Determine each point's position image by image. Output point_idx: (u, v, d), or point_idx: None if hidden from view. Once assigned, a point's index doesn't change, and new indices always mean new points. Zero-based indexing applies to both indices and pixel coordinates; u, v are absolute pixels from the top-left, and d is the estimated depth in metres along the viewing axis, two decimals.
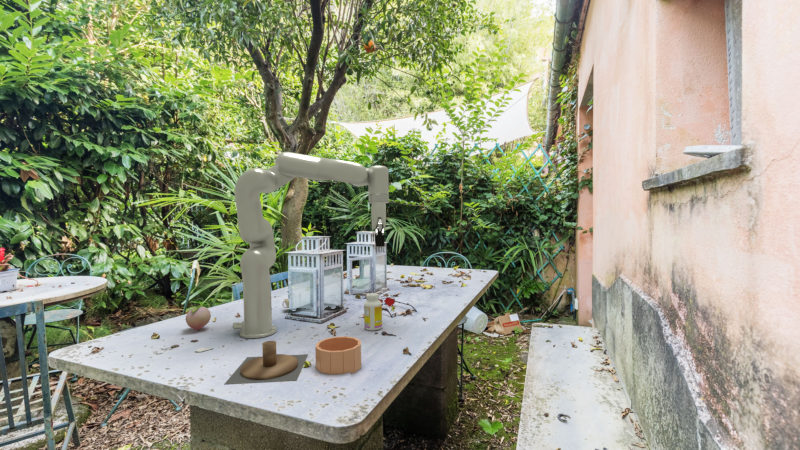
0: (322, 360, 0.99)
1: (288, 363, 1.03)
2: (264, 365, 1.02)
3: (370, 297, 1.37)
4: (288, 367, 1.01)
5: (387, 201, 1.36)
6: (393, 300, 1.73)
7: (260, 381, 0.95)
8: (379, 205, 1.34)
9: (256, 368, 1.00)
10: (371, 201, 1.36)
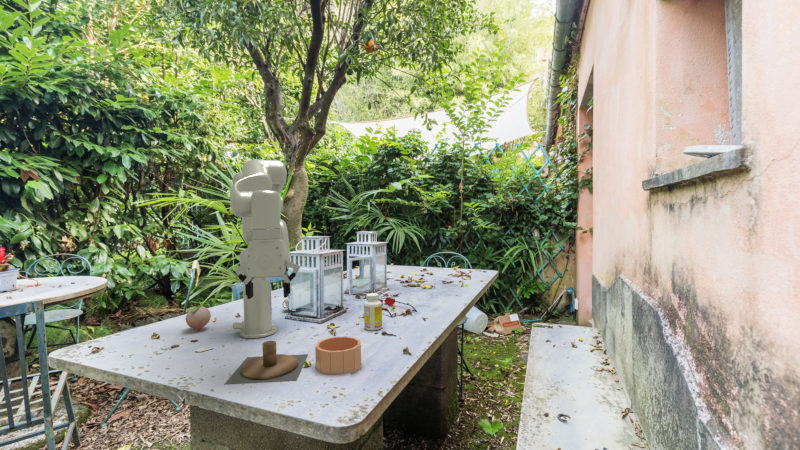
0: (322, 360, 0.99)
1: (288, 363, 1.03)
2: (264, 365, 1.02)
3: (370, 297, 1.37)
4: (288, 367, 1.01)
5: None
6: (393, 300, 1.73)
7: (260, 381, 0.95)
8: (284, 243, 1.03)
9: (256, 368, 1.00)
10: (272, 239, 0.99)
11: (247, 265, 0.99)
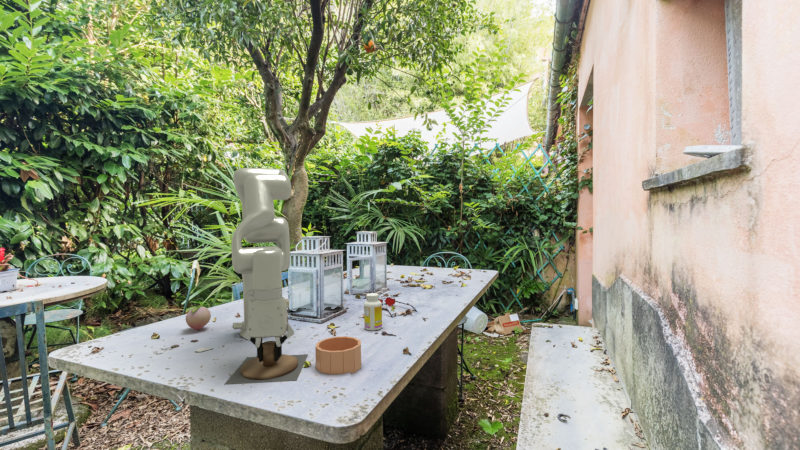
0: (322, 360, 0.99)
1: (288, 363, 1.03)
2: (264, 365, 1.02)
3: (370, 297, 1.37)
4: (288, 367, 1.01)
5: None
6: (393, 300, 1.73)
7: (260, 381, 0.95)
8: None
9: (256, 368, 1.00)
10: (273, 299, 1.00)
11: (248, 325, 1.00)
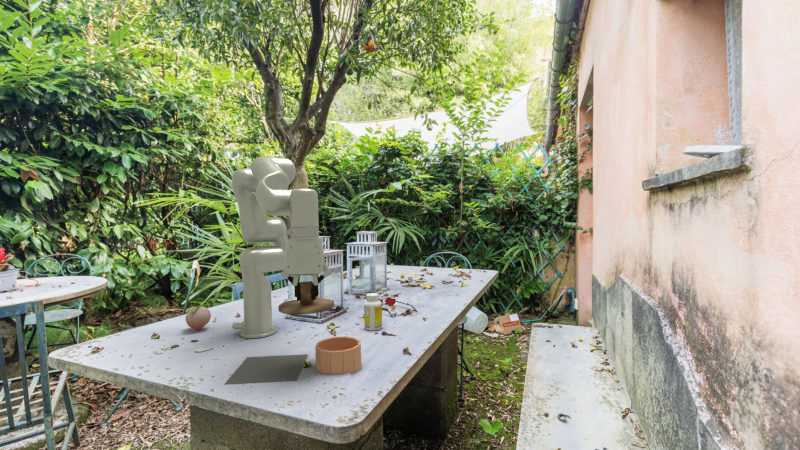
0: (322, 360, 0.99)
1: (325, 303, 1.03)
2: (301, 304, 1.02)
3: (370, 297, 1.37)
4: (326, 305, 1.01)
5: None
6: (394, 300, 1.73)
7: (260, 381, 0.95)
8: (321, 241, 1.03)
9: (294, 306, 1.01)
10: (311, 237, 1.00)
11: (286, 263, 1.00)
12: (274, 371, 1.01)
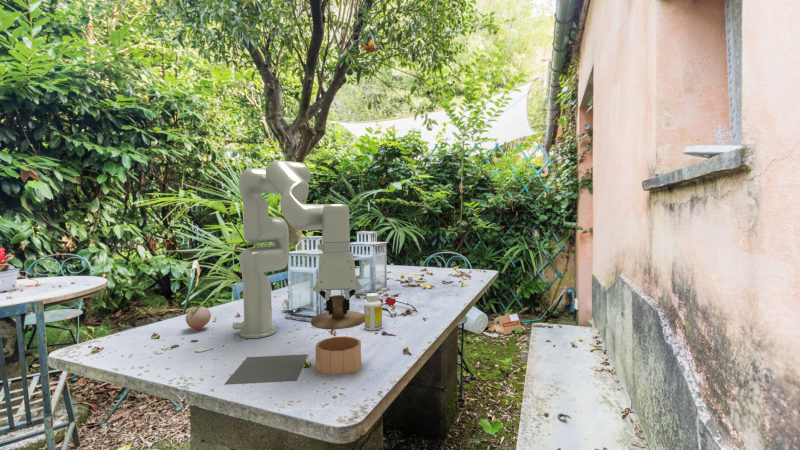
0: (322, 360, 0.99)
1: (356, 316, 1.04)
2: (334, 318, 1.03)
3: (370, 297, 1.37)
4: (358, 319, 1.02)
5: None
6: (394, 300, 1.73)
7: (260, 381, 0.95)
8: None
9: (326, 320, 1.01)
10: (344, 252, 1.01)
11: (319, 278, 1.01)
12: (274, 371, 1.01)
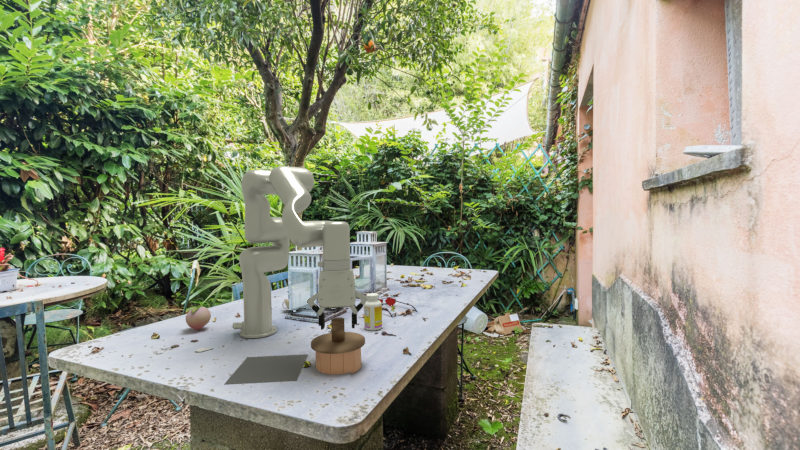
0: (322, 360, 0.99)
1: (356, 339, 1.05)
2: (334, 340, 1.03)
3: (370, 297, 1.37)
4: (358, 342, 1.02)
5: None
6: (394, 300, 1.73)
7: (260, 381, 0.95)
8: (353, 273, 1.04)
9: (326, 343, 1.02)
10: (344, 270, 1.01)
11: (319, 295, 1.01)
12: (274, 371, 1.01)
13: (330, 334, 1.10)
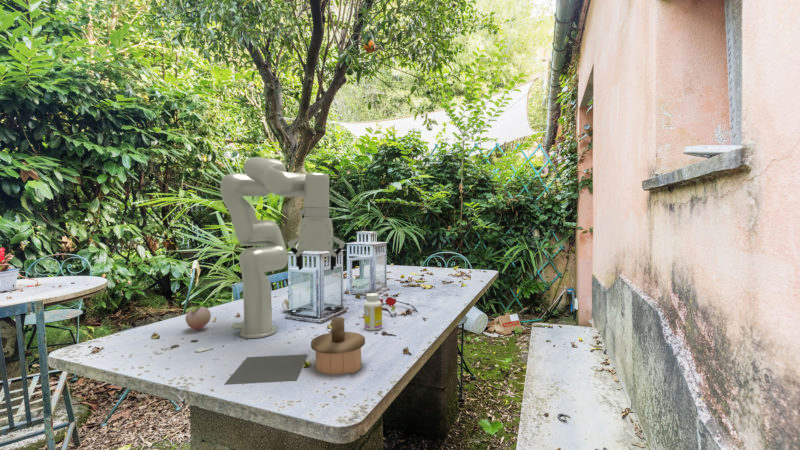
0: (322, 360, 0.99)
1: (356, 339, 1.05)
2: (334, 340, 1.03)
3: (370, 297, 1.37)
4: (358, 342, 1.02)
5: None
6: (394, 300, 1.74)
7: (260, 381, 0.95)
8: (331, 221, 1.14)
9: (326, 343, 1.02)
10: (322, 217, 1.11)
11: (299, 239, 1.11)
12: (274, 371, 1.01)
13: (330, 334, 1.10)
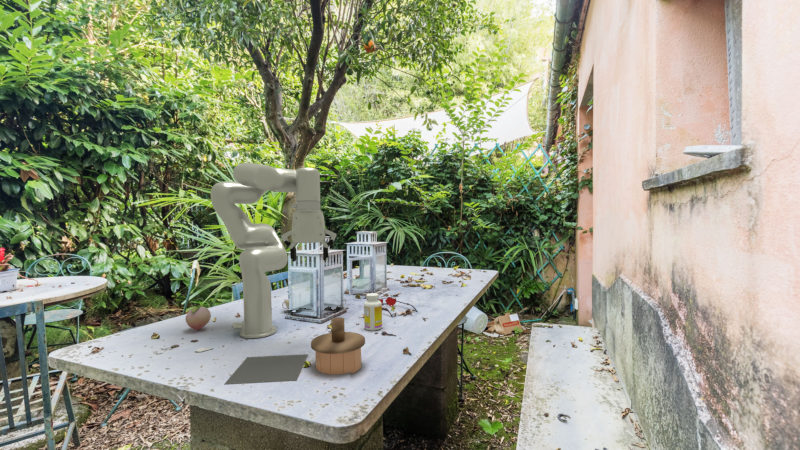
0: (322, 360, 0.99)
1: (356, 339, 1.05)
2: (334, 340, 1.03)
3: (370, 297, 1.37)
4: (358, 342, 1.02)
5: None
6: (394, 300, 1.74)
7: (260, 381, 0.95)
8: None
9: (326, 343, 1.02)
10: (314, 209, 1.16)
11: (292, 232, 1.16)
12: (274, 371, 1.01)
13: (330, 334, 1.10)
